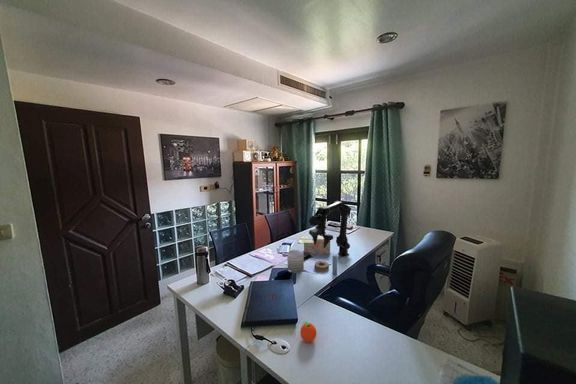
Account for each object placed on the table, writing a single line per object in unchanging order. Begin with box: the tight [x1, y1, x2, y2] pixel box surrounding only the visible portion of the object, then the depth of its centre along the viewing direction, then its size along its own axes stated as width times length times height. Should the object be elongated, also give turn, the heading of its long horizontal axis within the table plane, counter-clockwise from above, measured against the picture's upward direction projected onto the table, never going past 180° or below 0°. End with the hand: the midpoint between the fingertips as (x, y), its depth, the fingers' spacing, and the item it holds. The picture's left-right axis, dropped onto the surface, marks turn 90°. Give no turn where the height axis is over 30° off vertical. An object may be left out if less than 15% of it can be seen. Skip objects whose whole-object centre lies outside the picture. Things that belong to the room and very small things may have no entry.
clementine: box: [299, 321, 317, 343], centre depth 98 cm, size 8×7×7 cm
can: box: [286, 249, 305, 274], centre depth 160 cm, size 11×11×12 cm
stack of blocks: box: [303, 236, 331, 255], centre depth 188 cm, size 21×6×12 cm, turn 85°
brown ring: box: [314, 260, 330, 273], centre depth 161 cm, size 10×10×3 cm
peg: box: [331, 254, 338, 276], centre depth 152 cm, size 3×3×12 cm
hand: (319, 246), depth 164 cm, fingers open, 9 cm apart
